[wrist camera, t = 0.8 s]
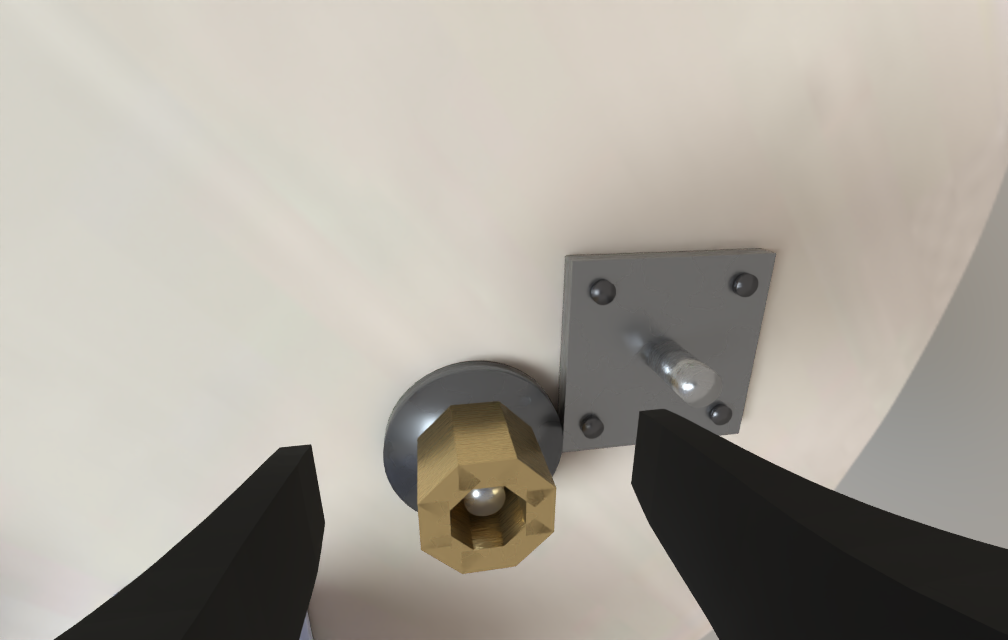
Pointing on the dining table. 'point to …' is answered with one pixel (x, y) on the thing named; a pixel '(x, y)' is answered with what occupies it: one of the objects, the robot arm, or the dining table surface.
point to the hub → (658, 340)
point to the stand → (466, 388)
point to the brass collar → (482, 464)
